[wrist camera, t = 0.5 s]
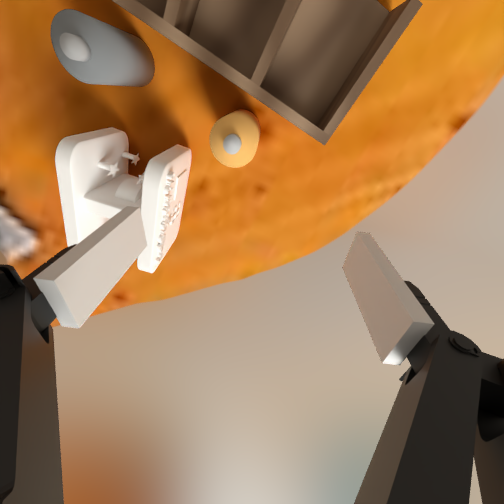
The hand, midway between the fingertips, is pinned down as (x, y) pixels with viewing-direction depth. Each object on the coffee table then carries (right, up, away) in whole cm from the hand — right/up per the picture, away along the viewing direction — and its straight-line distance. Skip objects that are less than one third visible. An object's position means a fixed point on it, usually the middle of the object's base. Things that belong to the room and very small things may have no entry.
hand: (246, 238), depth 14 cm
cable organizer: (-14, +9, +20) cm, 26 cm away
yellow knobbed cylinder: (-1, +15, +15) cm, 21 cm away
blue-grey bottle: (-13, +21, +12) cm, 27 cm away
